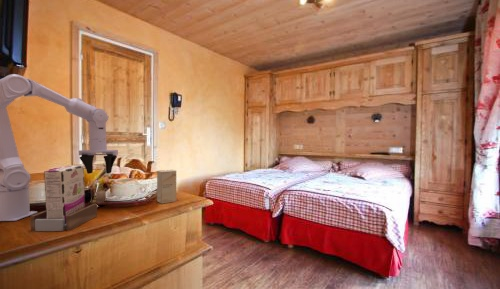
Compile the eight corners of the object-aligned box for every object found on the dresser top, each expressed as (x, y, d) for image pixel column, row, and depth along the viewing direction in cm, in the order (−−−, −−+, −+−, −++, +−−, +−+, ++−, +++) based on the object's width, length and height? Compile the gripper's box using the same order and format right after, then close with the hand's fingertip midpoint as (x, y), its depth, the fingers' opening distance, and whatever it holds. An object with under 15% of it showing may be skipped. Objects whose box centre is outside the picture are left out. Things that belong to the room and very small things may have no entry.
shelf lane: (30, 230, 66) (30, 216, 66) (63, 216, 77) (63, 203, 77) (70, 230, 66) (69, 216, 66) (97, 215, 78) (96, 203, 77)
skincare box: (161, 204, 91) (161, 172, 90) (156, 201, 94) (156, 170, 94) (177, 201, 95) (176, 170, 95) (172, 198, 98) (171, 169, 98)
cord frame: (35, 231, 65) (34, 212, 65) (93, 204, 90) (93, 190, 90) (62, 230, 65) (62, 212, 65) (113, 204, 90) (113, 190, 90)
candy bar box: (68, 216, 77) (67, 165, 76) (86, 215, 78) (84, 165, 77) (44, 230, 66) (42, 170, 65) (65, 229, 67) (63, 170, 66)
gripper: (121, 138, 100) (122, 171, 101) (86, 139, 100) (88, 171, 101) (111, 139, 93) (113, 174, 94) (74, 139, 93) (75, 174, 94)
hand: (99, 173), depth 97 cm, fingers open, 7 cm apart
